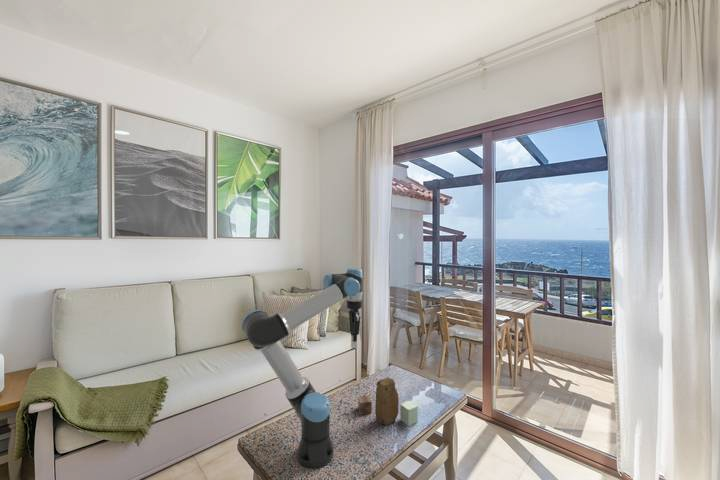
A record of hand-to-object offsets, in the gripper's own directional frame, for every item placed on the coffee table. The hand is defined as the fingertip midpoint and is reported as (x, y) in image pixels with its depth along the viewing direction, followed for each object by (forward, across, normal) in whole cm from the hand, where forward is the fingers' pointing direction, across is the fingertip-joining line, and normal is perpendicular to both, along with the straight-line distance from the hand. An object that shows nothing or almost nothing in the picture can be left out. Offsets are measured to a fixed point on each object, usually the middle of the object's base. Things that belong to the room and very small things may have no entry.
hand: (354, 347), depth 150 cm
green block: (+37, -9, -26) cm, 46 cm away
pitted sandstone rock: (+37, -5, -16) cm, 40 cm away
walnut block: (+37, +6, -8) cm, 38 cm away
